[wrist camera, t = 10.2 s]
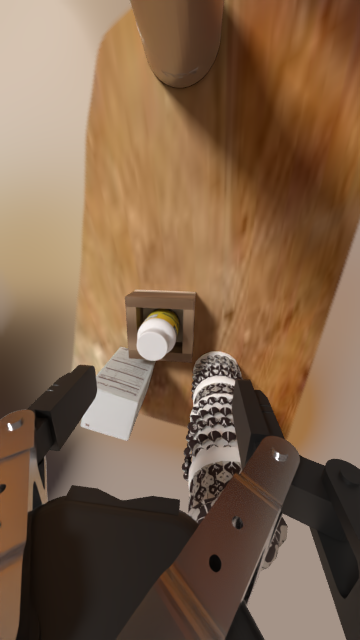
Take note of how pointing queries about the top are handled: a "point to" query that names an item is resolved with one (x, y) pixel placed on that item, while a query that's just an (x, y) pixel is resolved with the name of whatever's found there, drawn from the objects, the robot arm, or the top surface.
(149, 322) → the supplement bottle
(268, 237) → the top surface
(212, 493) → the decorative candle
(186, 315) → the socket block
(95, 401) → the supplement box
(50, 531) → the robot arm
